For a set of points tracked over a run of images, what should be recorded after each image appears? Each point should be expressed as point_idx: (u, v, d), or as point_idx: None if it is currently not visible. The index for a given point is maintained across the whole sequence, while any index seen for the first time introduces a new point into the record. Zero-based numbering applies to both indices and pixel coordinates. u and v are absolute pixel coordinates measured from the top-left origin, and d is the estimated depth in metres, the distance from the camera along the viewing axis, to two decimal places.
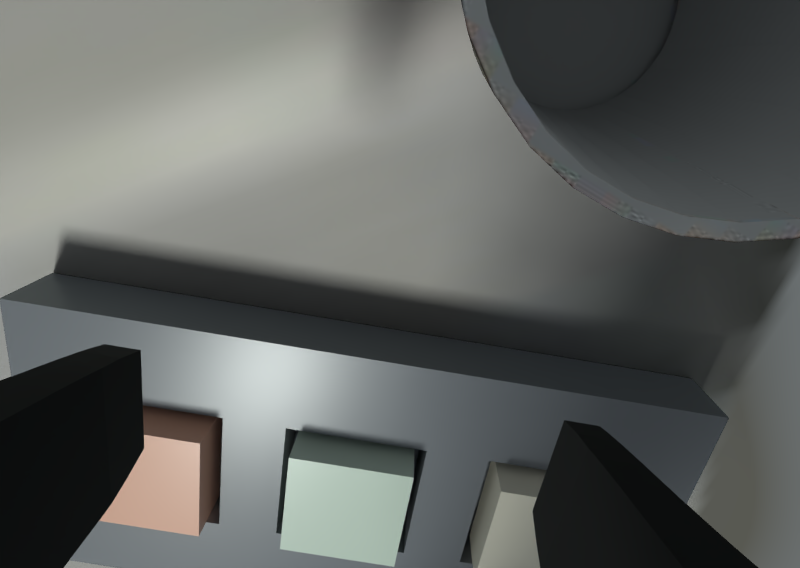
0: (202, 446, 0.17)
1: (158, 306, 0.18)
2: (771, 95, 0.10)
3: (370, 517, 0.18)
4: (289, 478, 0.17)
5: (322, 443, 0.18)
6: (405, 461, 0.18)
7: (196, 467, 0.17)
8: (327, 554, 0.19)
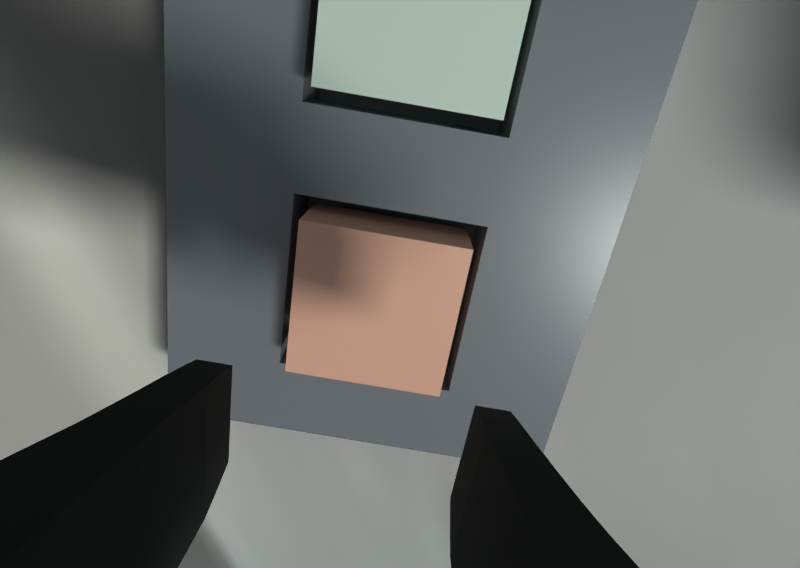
0: (313, 219, 0.12)
1: None
2: None
3: None
4: (351, 88, 0.11)
5: None
6: None
7: (342, 231, 0.12)
8: (523, 32, 0.10)
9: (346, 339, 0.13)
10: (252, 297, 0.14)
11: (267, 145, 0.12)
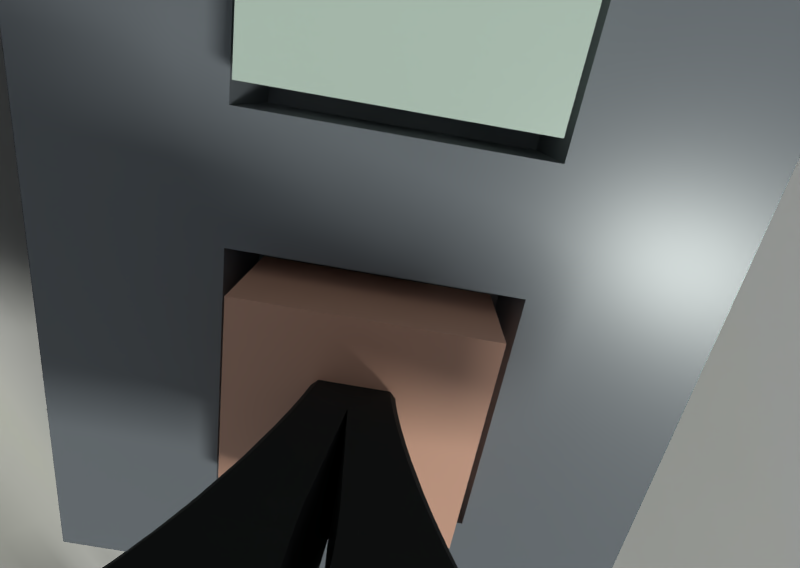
0: (250, 293, 0.08)
1: None
2: None
3: None
4: (301, 83, 0.06)
5: None
6: None
7: (295, 315, 0.08)
8: None
9: None
10: (170, 396, 0.09)
11: (178, 174, 0.08)
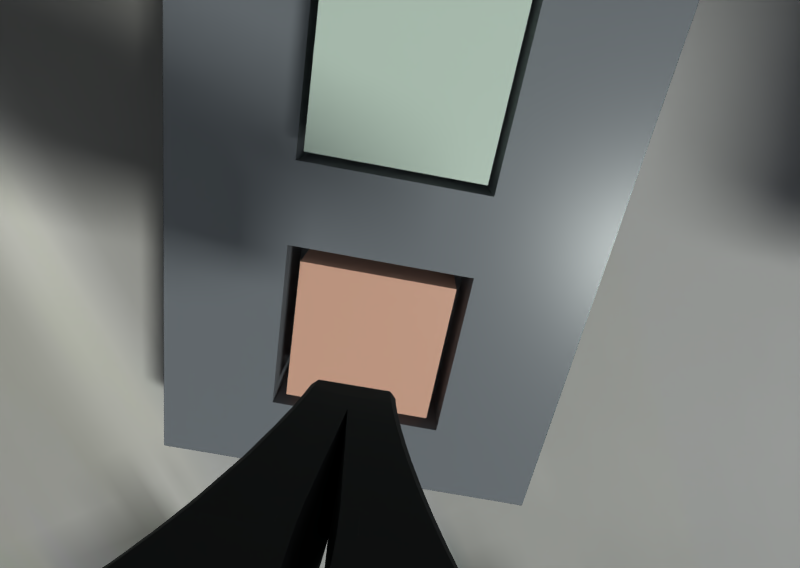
0: (313, 260, 0.14)
1: None
2: None
3: (417, 17, 0.10)
4: (342, 154, 0.11)
5: None
6: None
7: (339, 272, 0.14)
8: (506, 104, 0.11)
9: (342, 366, 0.15)
10: (246, 341, 0.14)
11: (262, 200, 0.13)
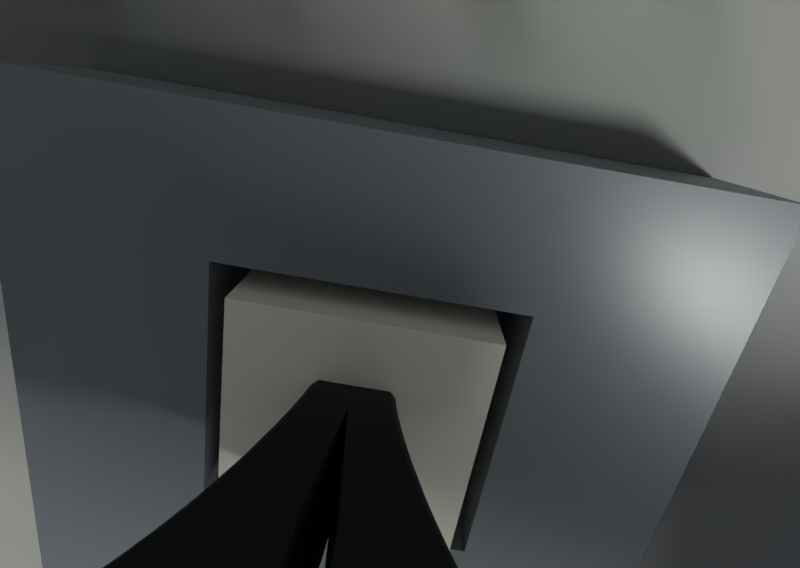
0: None
1: None
2: None
3: None
4: None
5: None
6: None
7: None
8: None
9: None
10: None
11: None
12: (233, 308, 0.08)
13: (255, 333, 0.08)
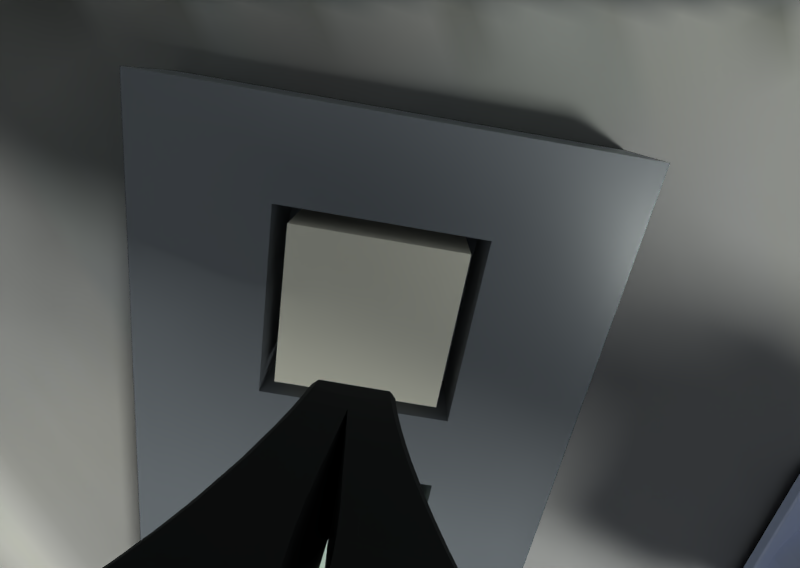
0: None
1: None
2: None
3: None
4: None
5: None
6: None
7: None
8: None
9: None
10: None
11: None
12: (292, 230, 0.12)
13: (306, 248, 0.12)
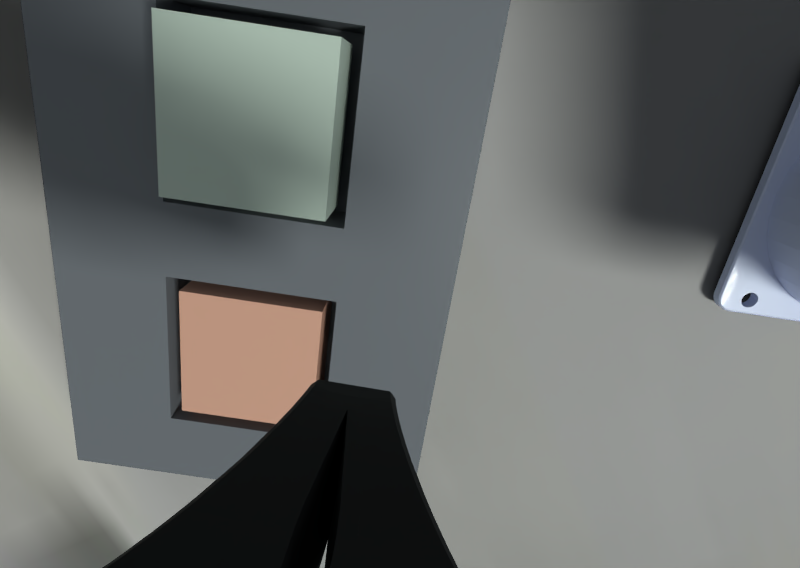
0: (193, 289, 0.15)
1: None
2: None
3: (241, 78, 0.12)
4: (192, 198, 0.13)
5: None
6: None
7: (214, 299, 0.15)
8: (332, 150, 0.12)
9: (229, 384, 0.16)
10: (140, 363, 0.16)
11: (137, 237, 0.14)
12: None
13: None
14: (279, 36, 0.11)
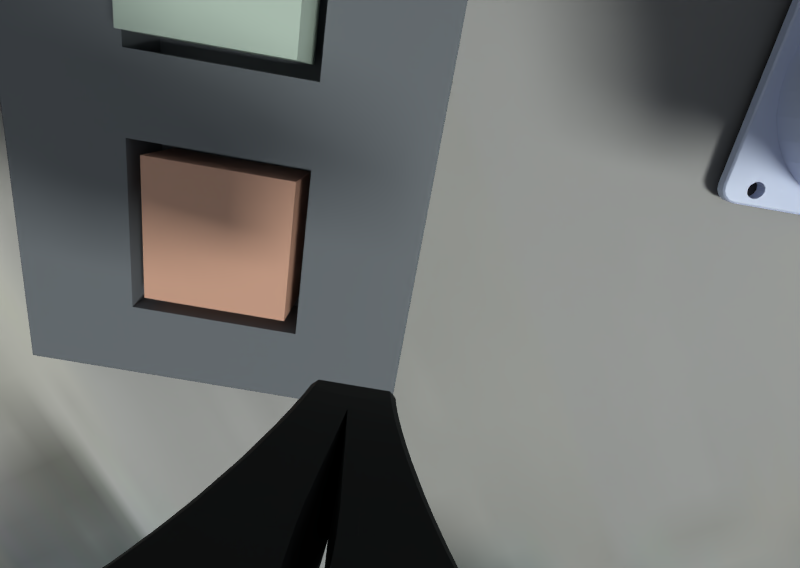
0: (156, 155, 0.14)
1: None
2: None
3: None
4: (151, 29, 0.12)
5: None
6: None
7: (178, 165, 0.14)
8: None
9: (195, 267, 0.15)
10: (98, 241, 0.15)
11: (94, 90, 0.13)
12: None
13: None
14: None
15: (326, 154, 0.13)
